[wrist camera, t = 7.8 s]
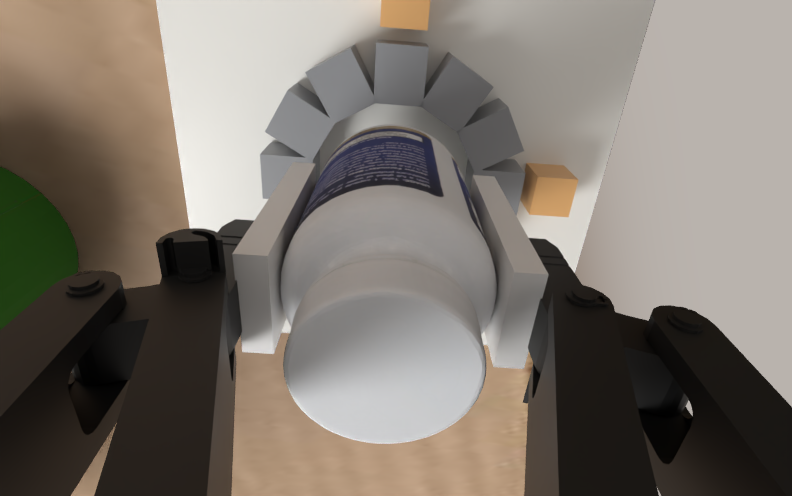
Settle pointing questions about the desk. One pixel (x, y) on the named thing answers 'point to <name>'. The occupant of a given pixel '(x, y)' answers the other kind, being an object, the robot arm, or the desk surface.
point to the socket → (402, 95)
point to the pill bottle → (387, 291)
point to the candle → (30, 246)
